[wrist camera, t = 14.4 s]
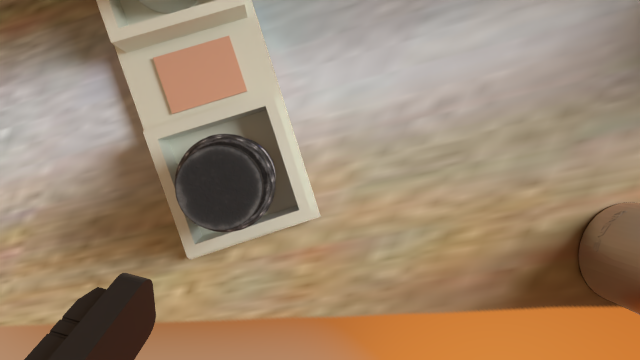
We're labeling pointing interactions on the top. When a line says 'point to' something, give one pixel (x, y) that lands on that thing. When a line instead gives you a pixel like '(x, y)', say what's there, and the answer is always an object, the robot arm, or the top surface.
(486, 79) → the top surface
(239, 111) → the cream compartment organizer
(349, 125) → the top surface
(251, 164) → the pill bottle
